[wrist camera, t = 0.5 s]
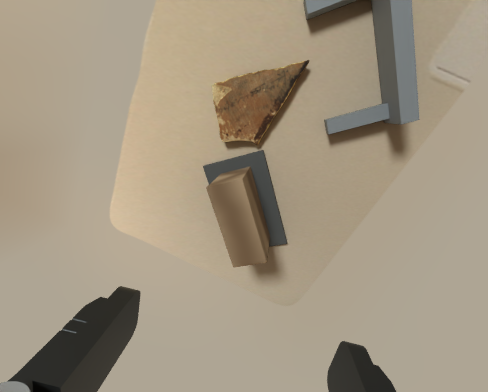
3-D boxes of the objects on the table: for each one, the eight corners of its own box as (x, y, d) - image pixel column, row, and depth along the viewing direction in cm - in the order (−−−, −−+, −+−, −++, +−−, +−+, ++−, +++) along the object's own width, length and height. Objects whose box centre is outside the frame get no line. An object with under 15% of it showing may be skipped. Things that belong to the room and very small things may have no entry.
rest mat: (263, 150, 29) (262, 150, 28) (286, 242, 32) (286, 243, 32) (204, 165, 31) (202, 166, 30) (232, 250, 34) (232, 252, 34)
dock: (385, -38, 21) (407, -70, 18) (399, 118, 25) (419, 119, 21) (302, -4, 23) (305, -26, 19) (327, 137, 27) (334, 141, 23)
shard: (308, 62, 25) (309, 59, 24) (313, 134, 28) (315, 136, 26) (213, 83, 28) (208, 81, 26) (225, 148, 30) (222, 150, 28)
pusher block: (250, 166, 29) (242, 179, 24) (270, 236, 32) (266, 262, 26) (220, 173, 30) (206, 187, 25) (242, 241, 33) (233, 267, 27)
